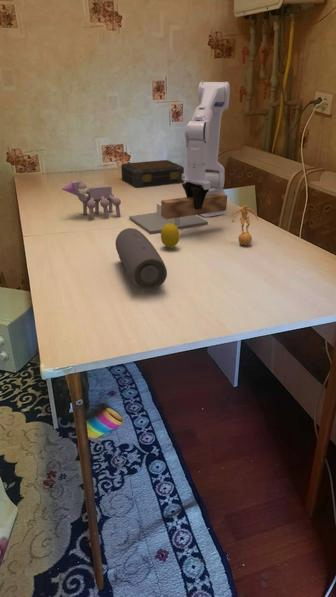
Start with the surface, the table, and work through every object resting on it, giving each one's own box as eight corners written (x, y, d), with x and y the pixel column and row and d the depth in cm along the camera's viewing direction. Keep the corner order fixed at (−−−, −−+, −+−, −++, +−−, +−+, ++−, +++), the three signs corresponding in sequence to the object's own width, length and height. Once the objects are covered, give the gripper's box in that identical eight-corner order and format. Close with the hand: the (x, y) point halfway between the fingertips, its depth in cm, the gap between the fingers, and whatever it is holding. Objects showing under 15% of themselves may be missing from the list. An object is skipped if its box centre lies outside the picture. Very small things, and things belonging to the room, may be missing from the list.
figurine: (234, 248, 132) (236, 209, 126) (227, 241, 137) (230, 203, 132) (260, 246, 133) (264, 207, 128) (252, 239, 139) (256, 202, 133)
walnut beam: (220, 207, 146) (221, 192, 144) (226, 210, 143) (227, 195, 141) (161, 216, 137) (161, 200, 135) (166, 219, 134) (166, 203, 132)
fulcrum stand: (183, 211, 166) (183, 198, 164) (207, 224, 152) (208, 210, 149) (129, 219, 157) (128, 205, 155) (150, 234, 143) (150, 219, 141)
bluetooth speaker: (169, 292, 106) (169, 254, 101) (132, 297, 104) (130, 258, 99) (146, 258, 125) (145, 224, 121) (114, 261, 123) (112, 227, 118)
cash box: (166, 174, 223) (166, 159, 219) (185, 183, 207) (185, 166, 203) (120, 179, 213) (119, 163, 210) (135, 188, 197) (135, 171, 194)
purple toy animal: (67, 224, 152) (63, 184, 146) (61, 217, 161) (57, 179, 155) (122, 217, 159) (120, 179, 153) (114, 211, 167) (111, 174, 162)
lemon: (181, 246, 133) (181, 220, 130) (175, 252, 129) (176, 226, 125) (164, 244, 135) (164, 219, 131) (158, 250, 130) (157, 224, 127)
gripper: (173, 160, 137) (173, 203, 143) (196, 169, 126) (195, 215, 132) (193, 158, 140) (191, 200, 146) (217, 166, 128) (215, 211, 135)
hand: (194, 207), depth 139 cm, fingers closed on walnut beam, 3 cm apart
